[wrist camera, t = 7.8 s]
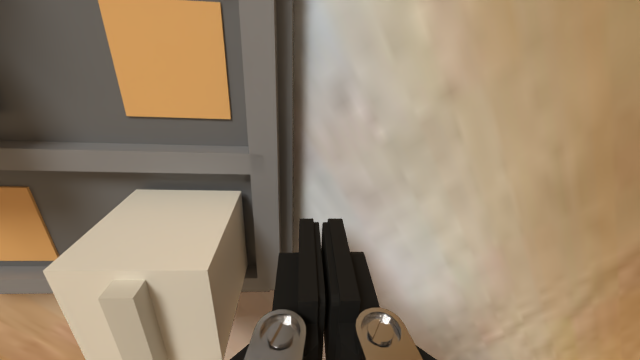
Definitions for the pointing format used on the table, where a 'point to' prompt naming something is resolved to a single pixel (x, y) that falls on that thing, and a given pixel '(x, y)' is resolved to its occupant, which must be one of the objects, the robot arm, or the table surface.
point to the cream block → (156, 277)
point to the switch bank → (141, 120)
